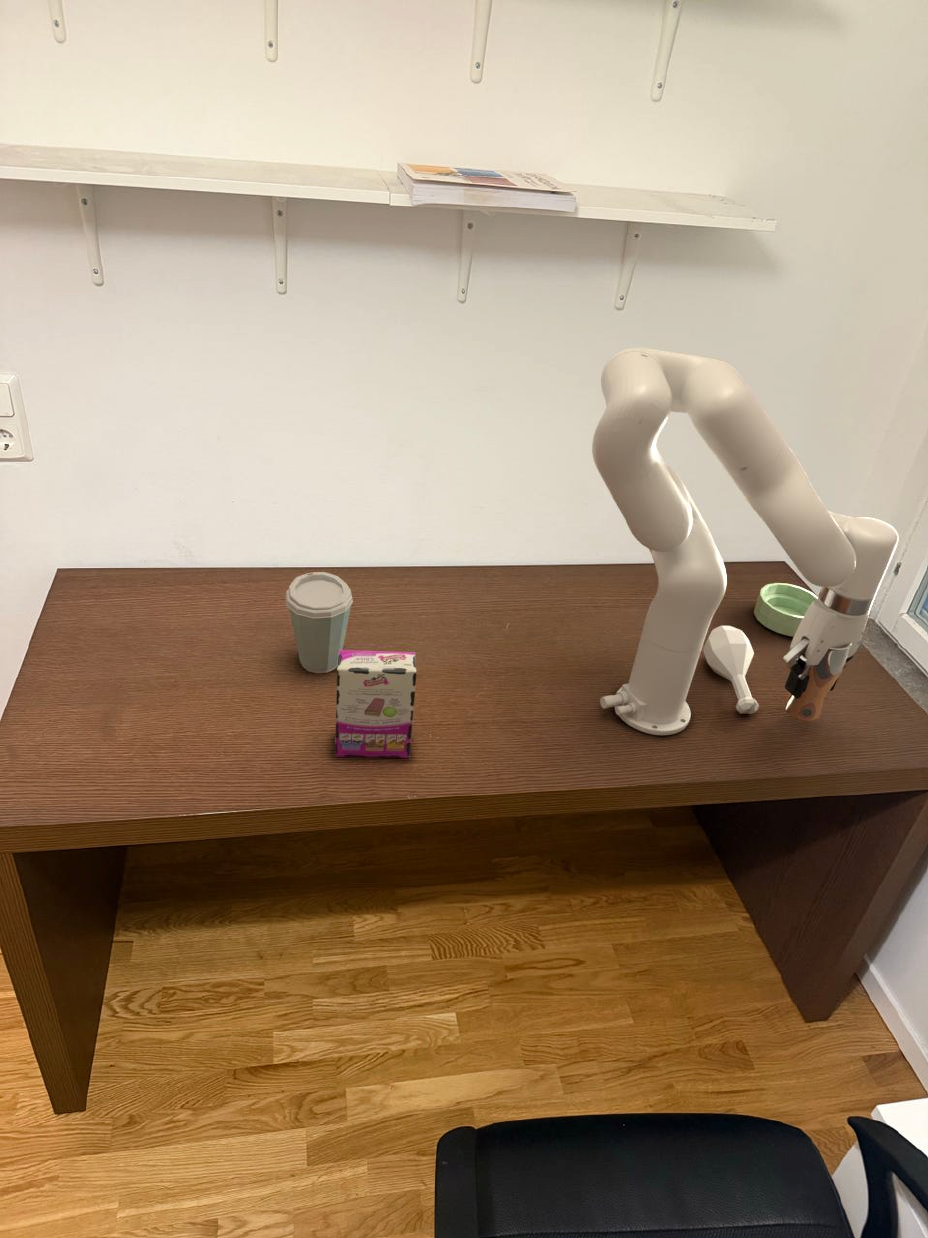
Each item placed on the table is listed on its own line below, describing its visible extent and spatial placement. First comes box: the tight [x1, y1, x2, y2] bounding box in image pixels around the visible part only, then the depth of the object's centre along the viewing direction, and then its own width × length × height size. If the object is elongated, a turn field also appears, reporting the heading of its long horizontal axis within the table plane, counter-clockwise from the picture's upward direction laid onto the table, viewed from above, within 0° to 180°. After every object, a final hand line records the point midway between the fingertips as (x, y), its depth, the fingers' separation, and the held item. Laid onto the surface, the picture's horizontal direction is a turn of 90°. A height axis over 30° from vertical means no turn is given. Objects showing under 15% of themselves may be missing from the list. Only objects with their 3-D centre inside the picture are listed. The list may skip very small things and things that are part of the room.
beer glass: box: [782, 643, 851, 723], centre depth 146 cm, size 7×7×15 cm
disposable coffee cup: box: [285, 571, 354, 675], centre depth 147 cm, size 11×11×15 cm
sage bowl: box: [753, 582, 818, 637], centre depth 177 cm, size 12×12×5 cm
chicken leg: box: [702, 625, 760, 715], centre depth 157 cm, size 8×18×8 cm, turn 5°
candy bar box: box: [334, 649, 417, 759], centre depth 132 cm, size 11×5×16 cm, turn 95°
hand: (808, 688), depth 147 cm, fingers closed on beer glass, 6 cm apart
